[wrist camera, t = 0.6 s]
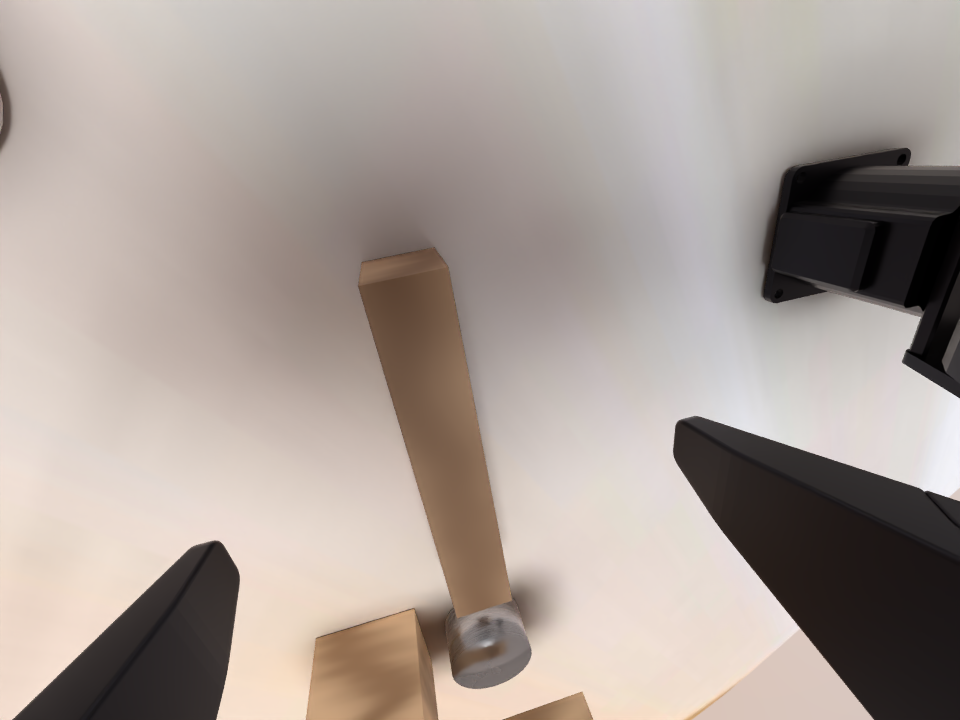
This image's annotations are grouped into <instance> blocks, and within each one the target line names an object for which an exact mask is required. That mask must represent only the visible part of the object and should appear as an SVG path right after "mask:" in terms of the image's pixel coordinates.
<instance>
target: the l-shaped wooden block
mask: <svg viewBox="0 0 960 720" xmlns="http://www.w3.org/2000/svg"><path fill="white" fill-rule="evenodd" d="M306 720H438V712H437V704H436V695H435V686H434V677H433V668H432V661H431V658H430V655H429V652H428V649H427V646H426V643H425V640H424V637H423V634H422V631H421V628H420V625H419V622H418V619H417V616H416V613H415V610H414V609H412V610H408V611H405V612H402V613H398V614H395V615H392V616H389V617H385V618H382V619H379V620H375V621H372V622H369V623H366V624H362V625H359V626H356V627H352V628H349V629H346V630H343V631H339V632H336V633H333V634H329V635H326V636H323V637H320V638H316V643H315V651H314V659H313V667H312V675H311V683H310V691H309V699H308V707H307V715H306ZM503 720H593V718H592V715H591V713H590V710H589V708H588V705H587V702H586V700H585V697H584V695H583V692H580V693H577V694H574V695H571V696H568V697H566V698H563V699H560V700H557V701H554V702H551V703H549V704H546V705H543V706H540V707H537V708H534V709H532V710H529V711H526V712H523V713H520V714H517V715H515V716H512V717H509V718H506V719H503Z"/></svg>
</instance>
